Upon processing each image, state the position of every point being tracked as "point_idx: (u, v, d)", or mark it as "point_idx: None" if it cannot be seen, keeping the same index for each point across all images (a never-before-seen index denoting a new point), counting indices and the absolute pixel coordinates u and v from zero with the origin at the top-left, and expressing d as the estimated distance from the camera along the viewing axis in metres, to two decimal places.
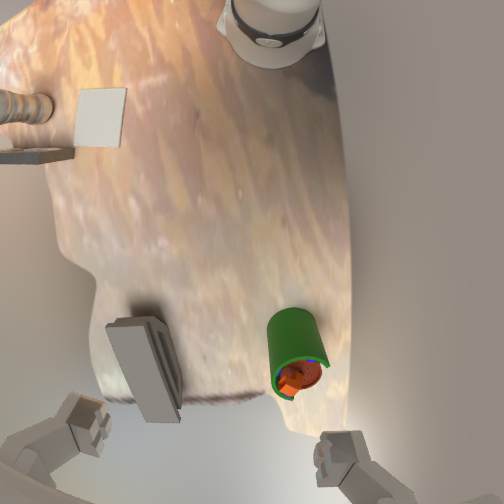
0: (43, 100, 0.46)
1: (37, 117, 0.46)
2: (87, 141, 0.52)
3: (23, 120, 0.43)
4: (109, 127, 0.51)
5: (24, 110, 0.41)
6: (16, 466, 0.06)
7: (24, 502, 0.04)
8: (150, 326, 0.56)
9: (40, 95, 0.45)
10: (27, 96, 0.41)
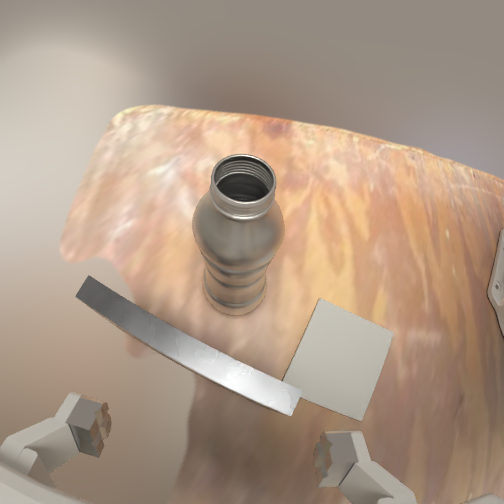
0: None
1: (246, 300, 0.30)
2: (311, 391, 0.31)
3: (234, 291, 0.28)
4: (356, 384, 0.32)
5: None
6: (16, 466, 0.06)
7: (24, 502, 0.04)
8: None
9: None
10: None
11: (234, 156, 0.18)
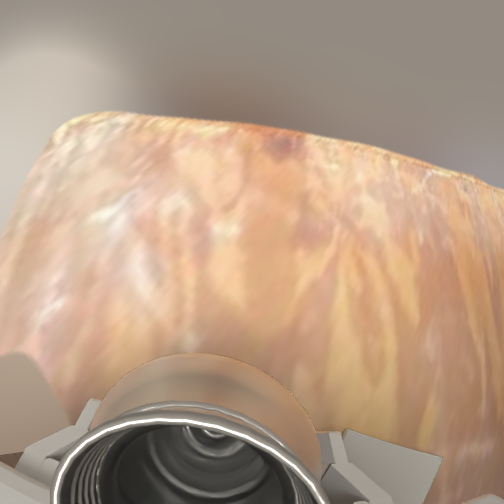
0: None
1: (234, 470, 0.15)
2: None
3: (211, 485, 0.12)
4: None
5: None
6: (38, 477, 0.06)
7: (24, 502, 0.04)
8: None
9: None
10: None
11: (136, 424, 0.03)
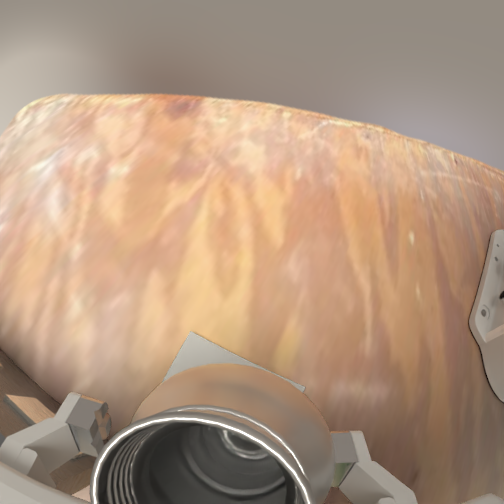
0: None
1: (267, 470, 0.16)
2: None
3: (244, 484, 0.13)
4: None
5: None
6: (16, 466, 0.06)
7: (24, 502, 0.04)
8: None
9: None
10: None
11: (157, 422, 0.04)
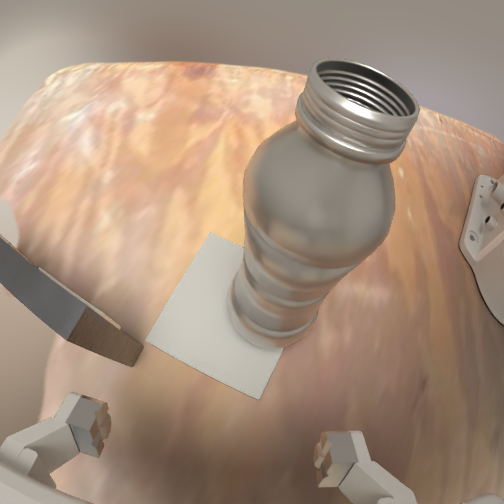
0: None
1: None
2: (186, 349, 0.24)
3: (289, 311, 0.18)
4: (252, 347, 0.25)
5: None
6: (16, 466, 0.06)
7: (24, 502, 0.04)
8: None
9: None
10: None
11: (339, 60, 0.09)
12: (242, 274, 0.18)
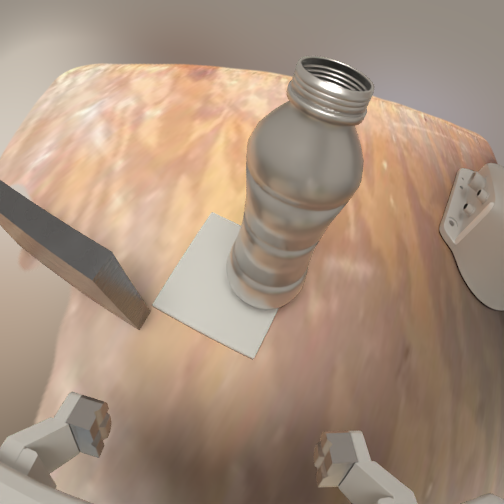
0: None
1: None
2: (189, 312, 0.27)
3: (281, 262, 0.21)
4: (248, 311, 0.28)
5: None
6: (16, 466, 0.06)
7: (24, 502, 0.04)
8: None
9: None
10: None
11: (318, 57, 0.13)
12: (242, 233, 0.22)
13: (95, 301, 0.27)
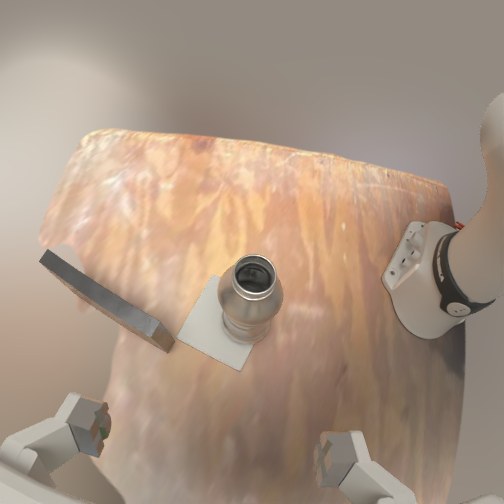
0: None
1: (255, 335, 0.40)
2: (199, 342, 0.43)
3: (246, 332, 0.37)
4: None
5: None
6: (16, 466, 0.06)
7: (24, 502, 0.04)
8: None
9: None
10: None
11: (248, 256, 0.28)
12: (225, 313, 0.38)
13: None
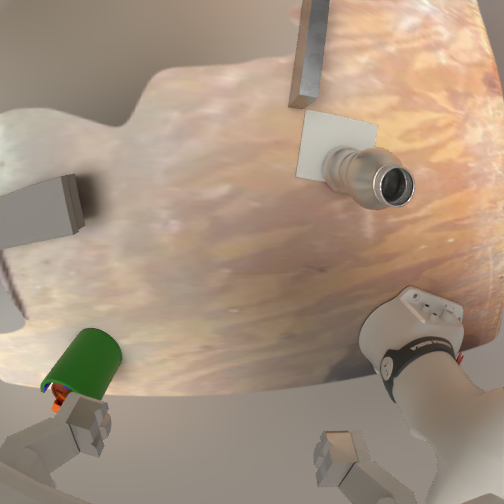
0: None
1: (334, 184, 0.41)
2: (309, 132, 0.43)
3: (337, 178, 0.37)
4: (322, 165, 0.45)
5: None
6: (16, 466, 0.06)
7: (24, 502, 0.04)
8: None
9: None
10: None
11: (411, 176, 0.25)
12: (348, 153, 0.36)
13: (293, 73, 0.41)
